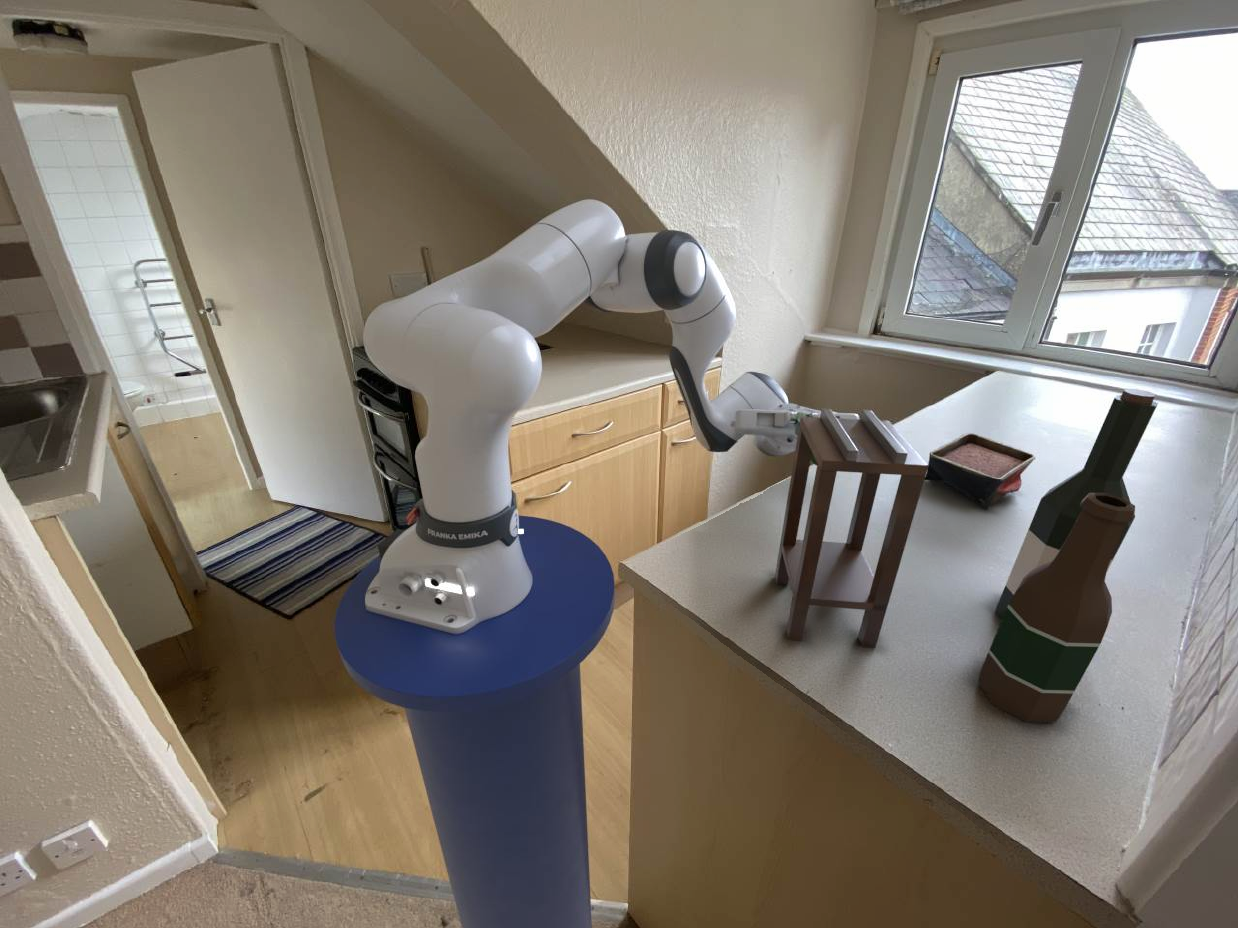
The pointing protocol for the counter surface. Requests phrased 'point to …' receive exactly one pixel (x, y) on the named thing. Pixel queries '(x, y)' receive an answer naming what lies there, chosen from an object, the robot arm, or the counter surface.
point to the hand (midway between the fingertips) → (804, 417)
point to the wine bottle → (1084, 487)
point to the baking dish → (979, 467)
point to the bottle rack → (842, 567)
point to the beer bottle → (1057, 618)
